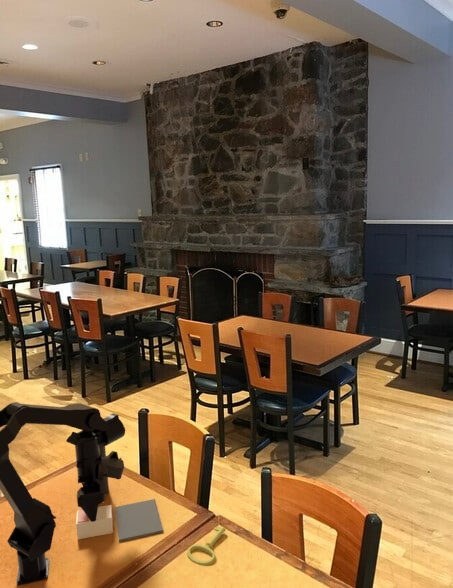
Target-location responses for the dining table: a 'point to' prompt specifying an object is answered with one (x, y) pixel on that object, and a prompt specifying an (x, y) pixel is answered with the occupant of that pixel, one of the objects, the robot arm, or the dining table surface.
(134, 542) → the dining table surface
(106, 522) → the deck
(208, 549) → the key
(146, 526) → the mat
